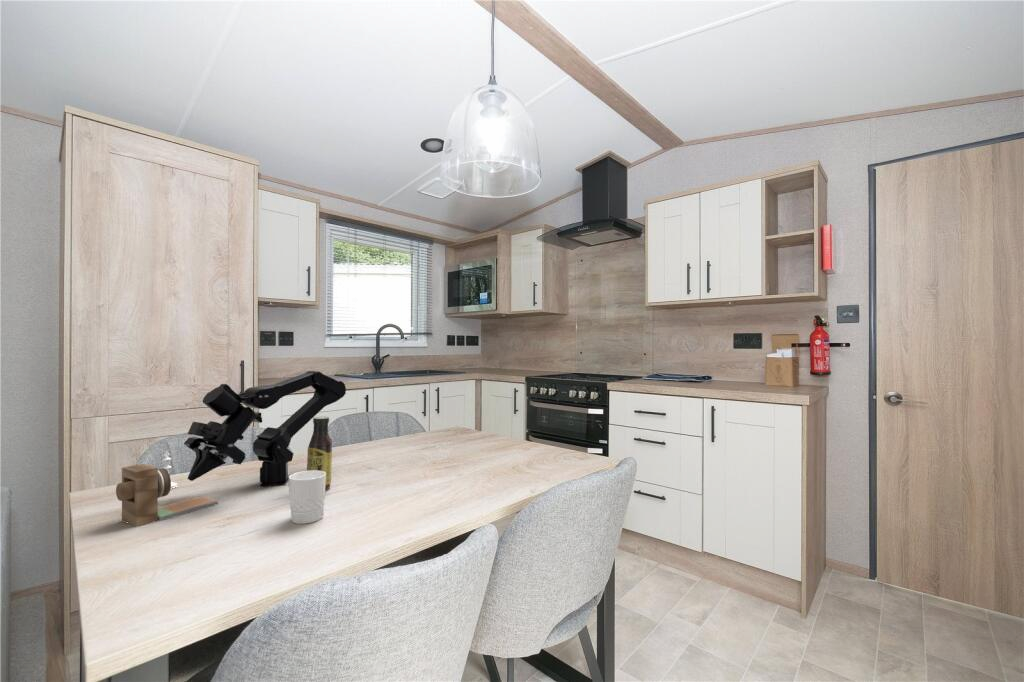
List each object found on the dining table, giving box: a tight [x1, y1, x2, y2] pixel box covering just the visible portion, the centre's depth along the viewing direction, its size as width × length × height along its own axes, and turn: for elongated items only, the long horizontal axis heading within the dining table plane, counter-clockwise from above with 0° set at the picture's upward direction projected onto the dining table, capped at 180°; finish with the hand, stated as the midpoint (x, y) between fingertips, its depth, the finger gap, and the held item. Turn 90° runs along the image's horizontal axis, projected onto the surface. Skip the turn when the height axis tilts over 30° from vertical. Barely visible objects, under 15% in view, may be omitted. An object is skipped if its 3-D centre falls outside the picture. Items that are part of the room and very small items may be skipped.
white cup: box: [288, 470, 326, 525], centre depth 108 cm, size 8×8×10 cm
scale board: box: [158, 495, 219, 521], centre depth 114 cm, size 13×8×1 cm, turn 151°
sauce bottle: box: [306, 415, 333, 491], centre depth 129 cm, size 6×6×20 cm
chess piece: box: [161, 451, 178, 490], centre depth 130 cm, size 5×5×10 cm
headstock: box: [121, 463, 159, 527], centre depth 106 cm, size 4×7×12 cm, turn 61°
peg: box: [115, 468, 172, 502], centre depth 107 cm, size 8×6×6 cm
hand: (189, 479), depth 115 cm, fingers closed
